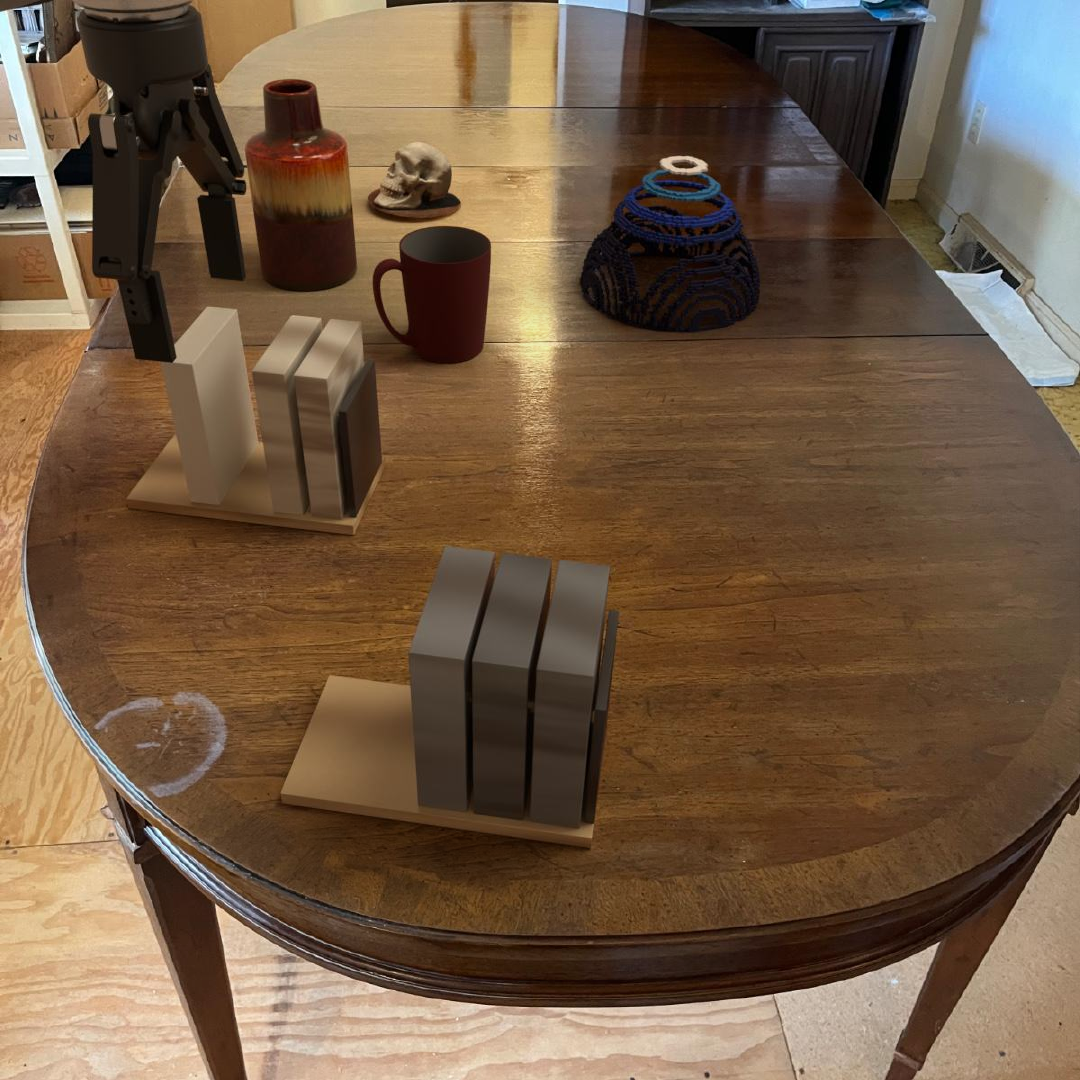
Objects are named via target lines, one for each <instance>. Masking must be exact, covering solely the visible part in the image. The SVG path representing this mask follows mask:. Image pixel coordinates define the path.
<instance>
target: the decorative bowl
mask: <svg viewBox="0 0 1080 1080" xmlns="http://www.w3.org/2000/svg"><path fill="white" fill-rule="evenodd" d="M658 163H659V167H661V168H662V169H657V170H655V171H654V172H651V173H648V174H645V175H644V176H643V177H642V178H641V185H638V186H636V187H634V188H631V189H630V190H629V191H628V192H627V193H626V194H625V195H624V198H623V200H620V202H618V203H617V206H616V207H615V209H614V211H613V214H612V215H613V221H610V224H609V226H608V227H606V228H604V229H603V230H602V232H600V233H599V234H596V237H595V238H593V241H592V243H591V244H590V245H591V246H590V247H589V248H587V249H588V250H587V251H586V255H585V258H584V259H583V266H582V270H581V272H580V273H581V275H580V277H579V285H580V289H581V293H582V298H584V299H585V301H587V303H588V304H589V305H590V306H591V307H594V308H595V310H597V311H600V313H602V314H605V315H606V316H607V317H608V318H611V319H614V320H616V321H619V322H620V323H625V324H629V326H634V325H635V326H636V327H639V328H640V329H642V328H645V329H649V330H653V331H655V330H657V331H661V332H665V331H666V332H673V331H674V332H680V333H685V332H687V333H694V332H699V331H700V332H701V331H706V330H707V331H708V330H713V329H720V328H727V327H729V326H731V325H734V324H735V323H736V322H741V321H743V320H745V319H746V318H747V317H749V316H750V315H751V313H752V312H755V310H756V309H757V305H758V304H759V300H760V294H761V289H760V287H761V286H760V285H761V283H760V282H761V278H760V271H759V269H760V268H759V266H758V262H757V257H756V256H755V254H754V253H755V252H754V249H753V248H752V246H753V244H752V243H751V242H750V241H749V239H748V238H747V235H745V234H744V232H743V230H742V228H744V227H745V225H744V224H743V223H742V219H741V217H740V215H739V212H738V211H736V209H735V206H734V202H733V201H732V200H731V199H730V198H729V197H728V196H727V195H725V194H724V193H723V192H722V185H721V184H720V183H719V182H718V181H716V180H715V179H714V178H713V177H712V176H710V175H708V174H706V173H705V172H708V171H709V168H708V167H709V164H708V163H707V162H706V161H704V160H702V159H699V158H698V157H694V156H691V155H690V156H689V155H685V156H682V155H676V156H675V155H674V156H668V157H664V158H661V159H660V160H659V162H658ZM674 163H675V164H676V163H686V164H687V163H689V164H690V165H694V166H692V167H691V168H685V167H682V168H681V167H680V168H679V167H676V166H674V165H673V164H674ZM703 172H704V173H703ZM666 175H681V176H693V177H694V178H700V179H702V180H705V181H707V184H708V185H706V184H702V183H699V182H692V181H686V180H683V181H682V180H671V179H665V180H656V178H658V177H659V176H666ZM664 187H666V188H672V187H676V188H680V187H681V188H685V189H693V190H697V191H692V192H691V191H688V190H682V191H677V190H670V189H665V188H664ZM642 191H645V192H644V193H639V192H642ZM652 198H661V199H667V200H671V201H675V202H676V201H680V202H695V203H696V202H702V203H708V204H712V205H713V207H714V206H716V209H719V210H717V211H713V212H710V213H709V214H704V215H703V216H704V217H703V218H701V217H700V216H696V215H693V216H688V215H684V214H683V212H679V210H678V209H676V208H671V207H670V206H667V205H666V204H665V205H659V204H658V205H657V204H656V205H648V206H643V205H642V204H639V203H638V201H642V200H643V199H644V200H645V199H652ZM624 208H625V209H627V211H625V213H624ZM645 222H648V223H645ZM716 226H717V227H716ZM669 227H671V228H669ZM715 227H716V230H714V229H715ZM681 228H683V229H684V232H685V233H686V235H684V234H683V233H682V232H683V231H682V230H681ZM698 228H701V230H700V231H699V233H698V235H697V233H696V232H695V229H698ZM647 229H648V230H647ZM672 229H673V230H674V231H673V230H672ZM664 231H666V232H664ZM621 237H622V238H621ZM734 241H737V242H741V244H739V245H738V246H734V247H733V248H732V249H731V250H730V251H729V252H728V254H727V253H725V252H726V251H727V248H729V247H730V246H731V245H732V244H733V243H734ZM718 243H719V244H720V243H721V244H720V245H719V248H716V249H715V247H716V245H717V244H718ZM633 244H639V245H640V246H641V247H642V248H643V249H644V250H637V251H629V249H630V248H631V247H632V246H633ZM706 244H708V246H707V249H706V251H705V252H703V250H704V247H705V245H706ZM660 245H662V248H660ZM686 247H687V248H686ZM661 249H662V250H661ZM689 249H690V250H689ZM715 250H716V252H715ZM739 252H740V253H741V254H742V255H740V256H739V257H738V258H736V257H735V255H737V254H739ZM659 254H660V255H663V256H667V255H668V256H669V255H670V256H675V255H677V256H678V257H685V258H681V259H678V260H677V261H676V262H675V265H673V266H671V267H666V268H665V270H663V272H662V273H658V275H657V276H655V281H653V282H652V283H650V286H648V287H647V290H648V291H645V293H644V296H642V298H640V295H639V292H640V289H638V288H639V283H638V280H637V279H638V278H637V274H636V270H635V267H634V263H633V261H632V257H636V256H642V255H645V256H651V255H659ZM687 258H688V259H687ZM618 260H619V261H618ZM691 263H694V264H701V263H713V264H714V265H715V266H710V267H709V266H708V267H704V268H703V267H701V268H694V269H693V268H685V270H684V267H686V266H688V264H691ZM601 266H604V267H605V268H606V271H607V275H608V276H609V279H610V283H611V287H612V288H611V290H610V287H609V283H608V280H607V279H606V278H607V277H606V273H605V272H604V270H602V268H601ZM683 270H684V271H683ZM595 271H597V272H598V273H599V275H598V274H597V273H596V272H595ZM623 271H624V272H623ZM673 273H676V274H677V275H675V279H676V280H675V281H673V283H669V284H668V286H666V287H664V284H667V282H669V280H670V279H671V278H672V275H673ZM720 273H722V275H724V276H721V277H715V278H711V279H708V280H704V279H700V280H699V279H698V280H693V276H697V277H700V276H707V275H716V274H720ZM725 277H726V278H725ZM727 277H728V278H727ZM600 278H601V279H600ZM730 279H732V280H733V281H734V282H735V283H736V284H737V285H740V286H739V290H740V291H743V295H744V300H743V295H741V294H740V293H739V292H738V290H737V289H735V288H734V285H733V283H732V281H730ZM688 280H691V281H689V283H687V284H686V286H684V290H683V291H682V292H681V293H680V295H678V296H677V298H675V300H673V301H672V303H670V304H668V305H665V304H666V302H668V298H669V297H671V294H675V293H676V289H679V288H681V286H683V285H684V283H686V281H688ZM692 280H693V281H692ZM617 287H618V288H617ZM662 287H663V288H662ZM589 289H590V290H591V293H592V296H593V298H592V297H591V295H590V291H589ZM661 289H662V290H661ZM658 290H660V292H659V291H658ZM710 290H713V291H714V292H715V293H708V294H706V292H707V291H710ZM611 291H612V295H613V299H614V302H613V311H614V313H613V312H612V308H611V307H612V302H611V298H610V293H611ZM719 291H724V292H725V294H727V296H725V295H724V294H720V292H719ZM604 292H605V293H604ZM658 294H660V296H659V297H658V298H657V299H658V300H657V301H656V302H655V303H651V304H650V300H654V298H655V297H656V295H658ZM697 294H701V295H698V296H697V297H696V298H695V300H692V298H693V297H695V295H697ZM728 295H730V296H731V297H732V298H733V299H734V300H735V302H733V300H731V299H730V298H729V297H728ZM605 300H606V301H605ZM688 300H691V301H690V303H688V302H687V301H688ZM713 300H717V301H718V302H722V303H723V305H727V309H728V312H729V313H730V314H729V315H728V314H727V310H725V308H724V307H723V308H721V307H720V306H714V307H706V308H699V309H698V311H696V313H695V314H693V316H691V317H690V323H688V324H687V327H686V326H683V325H684V324H683V323H684V318H686V317H687V315H689V314H690V313H689V312H690V310H694V308H695V307H697V305H698V304H699V303H700V302H706V301H713ZM618 302H619V304H618ZM620 302H621V303H620ZM605 303H606V307H605ZM685 303H688V305H687V306H685V308H683V309H682V311H680V315H678V316H677V311H679V310H680V308H682V306H683V305H685ZM744 303H745V304H744ZM638 305H640V309H639V310H638ZM665 306H666V309H667V311H666V312H663V314H661V315H660V319H658V320H657V317H658V316H657V314H660V310H661V309H663V307H665ZM650 307H652V310H649V309H650ZM628 309H629V314H628V315H627V312H628ZM635 314H636V315H635ZM647 314H649V319H646V320H645V317H647ZM737 314H738V315H737ZM712 316H713V317H714V318H715V320H717V323H716V322H715V323H714V324H711V325H704V326H699V325H701V324H702V322H704V320H705V319H706V318H707V317H712ZM676 317H677V318H676ZM728 317H729V318H728ZM674 318H676V319H674ZM644 320H645V323H644ZM673 323H674V326H672V327H671V325H673ZM656 324H657V325H656Z"/></svg>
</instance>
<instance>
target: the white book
mask: <svg viewBox="0 0 1080 1080" xmlns="http://www.w3.org/2000/svg"><path fill="white" fill-rule="evenodd" d="M174 346H175V351H176V356H177V358H176V359H175V360H174V362H173V363H169V362H160V365H161V366H160V368H161V371H162V376H163V381H164V385H165V390H166V395H167V399H168V404H169V408H170V413H171V417H172V422H173V427H174V431H175V433H176V436H177V441H178V445H179V450H180V454H181V459H182V463H183V468H184V473H185V477H186V482H187V486H188V491H189V496H190V500H191V502H196V503H205V504H213V505H220V504H221V503H222V501H223V500H224V498H225V496H226V495H227V493H228V492H229V490H230V489H231V487H232V485H233V484H234V482H235V481H236V479H237V478H238V476H239V475H240V473H241V471H242V470H243V468H244V467H245V465H246V464H247V462H248V460H249V459H250V457H251V456H252V454H253V453H254V451H255V449H256V448H257V446H258V445H259V444H258V442H259V438H258V433H257V427H256V420H255V413H254V407H253V400H252V395H251V387H250V381H249V377H248V371H247V370H248V369H247V365H246V364H247V363H246V358H245V352H244V345H243V339H242V333H241V326H240V320H239V314H238V309H237V308H229V307H228V308H227V307H218V306H206V307H205V308H204V310H203V311H201V313H200V314H199V315H198V316H197V318H196V319H195V320H194V321H193V322H192V323H191V325H189V327H188V328H187V329H186V331H185V332H184V333H183V334H182V335H181V336H180V337H179V339H177V340H176V342H174Z"/></svg>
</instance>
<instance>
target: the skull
mask: <svg viewBox="0 0 1080 1080" xmlns="http://www.w3.org/2000/svg"><path fill="white" fill-rule="evenodd" d="M394 160H395V161H393V162H392V163H391V164H390V166H389V167H388V168H387V172H386V176H385V177H384V178H383V179H382V180H381V181H380V183H379V187H380V188H377V189H374V190H373V191H371V192H370V193H369V194H368V196H367V202H368V203H369V204H370V205H371V207H373V209H376V210H377V211H379V212H383V213H385V214H389V215H393V216H397V217H402V218H403V217H405V218H411V219H413V220H417V218H418V219H421V220H423V219H426V220H429V219H431V218H433V219H434V218H437V217H443V216H444V217H445V216H448V215H452V214H453V213H454V212H456V211H458V210H459V209H460V208H461V206H462V202H461V200H460V198H458V197H457V196H456V195H455V194H454V193H451V192H450V188H451V184H452V178H453V170H452V165H451V162H450V161H449V159H448V158H447V156H446V155H445V154H444V153H442V152H441V151H440V150H439V149H437V148H436V147H434V146H432V145H430V144H428V143H425V142H422V141H413V142H410V143H407V144H405V145H404V146H402V147H400V148H399V149H398V150H396V151H395V153H394Z"/></svg>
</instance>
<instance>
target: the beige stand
mask: <svg viewBox="0 0 1080 1080" xmlns="http://www.w3.org/2000/svg"><path fill="white" fill-rule="evenodd" d="M363 344H364V343H363V331H362V322H361V321H357V320H347V319H337V318H329V320H328V322H327V323H326V325H325V326H324V328H323V319H322V317H317V316H316V317H315V316H306V315H304V316H303V315H295V314H292V315H290V316H289V318H288V319H287V321H286V322H285V323H284V325H283V326H282V328H281V329H280V330H279V331H278V333H277V334H276V336H275V337H274V338H273V340H272V341H271V342H270V344H269V346H268V347H267V348H266V350H265V351H264V353H263V354H262V355H261V357H260V358H259V360H258V361H257V362H256V364H255V365H254V366H253V368H252V369H251V377H252V383H253V391H254V397H255V403H256V410H257V416H258V421H259V428H260V433H261V434H260V435H261V440H262V441H258V444H259V445H258V446H257V448H256V449H255V451H254V453H253V454H252V456H251V457H250V459H249V460H248V462H247V464H246V465H245V467H244V468H243V470H242V471H241V473H240V475H239V476H238V478H237V479H236V481H235V482H234V484H233V485H232V487H231V489H230V490H229V492H228V493H227V495H226V496H225V498H224V500H223V501H222V503H221V504H220V505H213V504H205V503H196V502H191V500H190V496H189V491H188V486H187V482H186V477H185V473H184V468H183V463H182V459H181V454H180V450H179V445H178V441H177V436H176V432H175V433H174V435H173V436H171V438H170V440H168V442H167V444H166V445H165V446H164V448H162V450H161V452H160V453H159V454H158V456H157V457H156V458H155V460H154V461H153V462H152V463H151V465H150V466H149V468H148V469H147V470H146V471H145V472H144V473H143V475H142V476H141V478H140V479H139V481H138V482H137V483H136V485H134V488H133V489H131V491H130V493H129V494H128V495H127V496H126V498H125V501H126V505H127V508H128V509H133V510H142V511H149V512H155V513H166V514H173V515H181V516H190V517H197V518H198V517H200V518H208V519H216V520H225V521H232V522H239V523H248V524H257V525H265V526H273V527H282V528H290V529H298V530H299V529H300V530H306V531H316V532H324V533H332V534H341V535H348V536H354V535H355V533H356V532H357V529H358V527H359V525H360V524H361V523H360V522H361V520H362V518H363V516H364V514H365V513H366V509H367V508H368V505H369V503H370V501H371V498H372V497H373V495H374V492H375V490H376V488H377V486H378V483H379V481H380V479H381V477H382V475H383V472H384V470H385V467H386V466H387V462H386V461H387V460H386V455H382V454H383V453H382V441H381V428H380V415H379V401H378V387H377V372H376V360H375V359H372V358H371V359H370V358H368V359H366V361H365V356H364V345H363Z"/></svg>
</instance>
